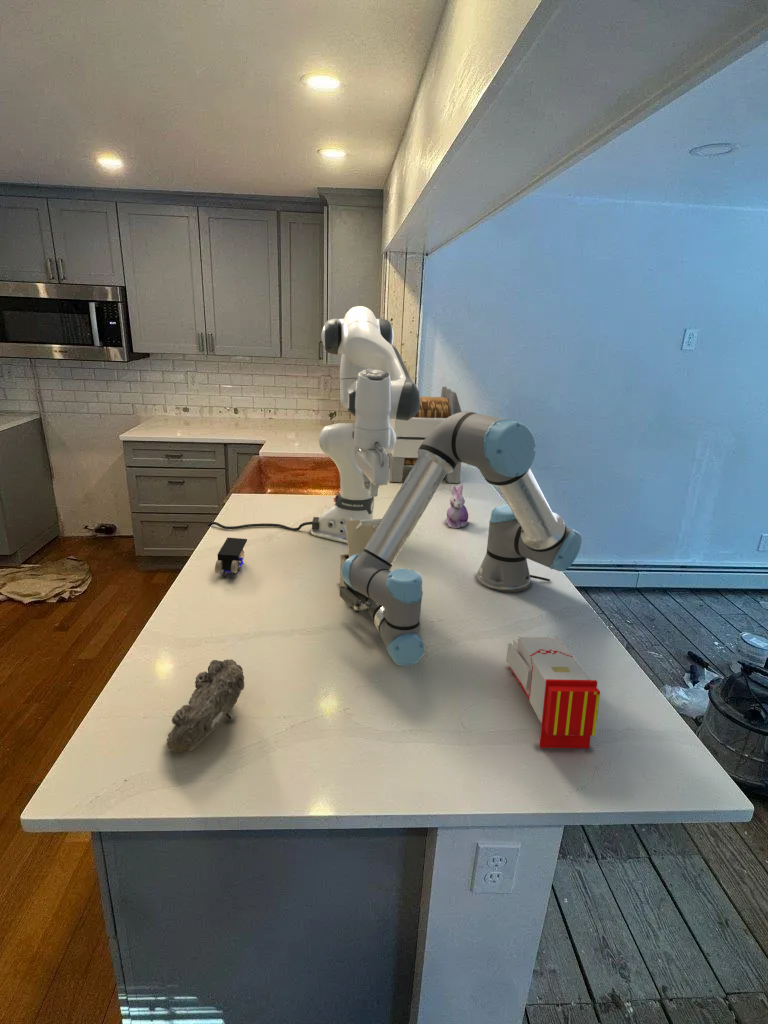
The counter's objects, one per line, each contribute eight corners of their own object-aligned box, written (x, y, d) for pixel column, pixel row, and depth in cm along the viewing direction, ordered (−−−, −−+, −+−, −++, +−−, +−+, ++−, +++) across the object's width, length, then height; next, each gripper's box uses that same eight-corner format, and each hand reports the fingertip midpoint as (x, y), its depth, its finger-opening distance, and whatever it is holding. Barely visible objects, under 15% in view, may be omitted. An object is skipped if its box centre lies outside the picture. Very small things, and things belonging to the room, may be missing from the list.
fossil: (192, 660, 117) (244, 628, 112) (224, 691, 120) (276, 661, 115) (142, 746, 98) (202, 712, 93) (182, 779, 101) (242, 748, 96)
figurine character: (238, 584, 162) (249, 557, 175) (236, 562, 158) (247, 536, 172) (215, 584, 161) (227, 556, 175) (212, 561, 158) (225, 535, 171)
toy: (554, 620, 129) (609, 687, 99) (549, 674, 131) (601, 755, 102) (501, 619, 128) (541, 686, 99) (497, 673, 131) (534, 754, 102)
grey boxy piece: (382, 463, 289) (386, 382, 275) (445, 464, 293) (451, 384, 279) (390, 482, 257) (394, 392, 243) (460, 483, 261) (468, 394, 247)
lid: (345, 521, 150) (351, 514, 142) (381, 519, 153) (389, 511, 145) (350, 574, 147) (357, 569, 139) (388, 570, 149) (396, 565, 142)
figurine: (453, 530, 205) (457, 490, 200) (438, 521, 213) (441, 482, 208) (475, 527, 209) (479, 488, 204) (459, 517, 217) (462, 480, 212)
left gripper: (396, 448, 130) (393, 504, 135) (374, 429, 148) (372, 480, 153) (370, 448, 128) (368, 506, 133) (350, 429, 147) (349, 480, 152)
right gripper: (341, 636, 130) (324, 591, 151) (433, 625, 137) (405, 584, 157) (341, 607, 128) (324, 566, 148) (435, 598, 134) (406, 559, 154)
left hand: (370, 492), depth 143 cm, fingers open, 5 cm apart
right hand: (365, 575), depth 152 cm, fingers closed on chest, 10 cm apart
